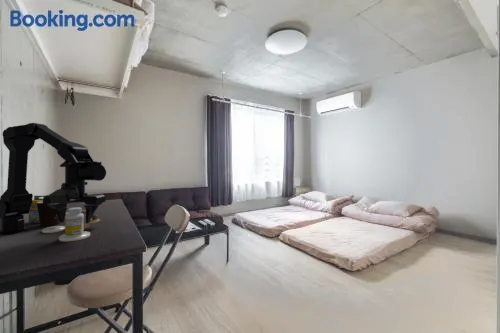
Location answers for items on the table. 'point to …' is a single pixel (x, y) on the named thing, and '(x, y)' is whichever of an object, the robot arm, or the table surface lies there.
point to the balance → (93, 220)
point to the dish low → (68, 239)
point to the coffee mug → (47, 215)
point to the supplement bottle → (74, 222)
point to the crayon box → (34, 210)
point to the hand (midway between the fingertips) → (75, 222)
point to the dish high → (53, 229)
